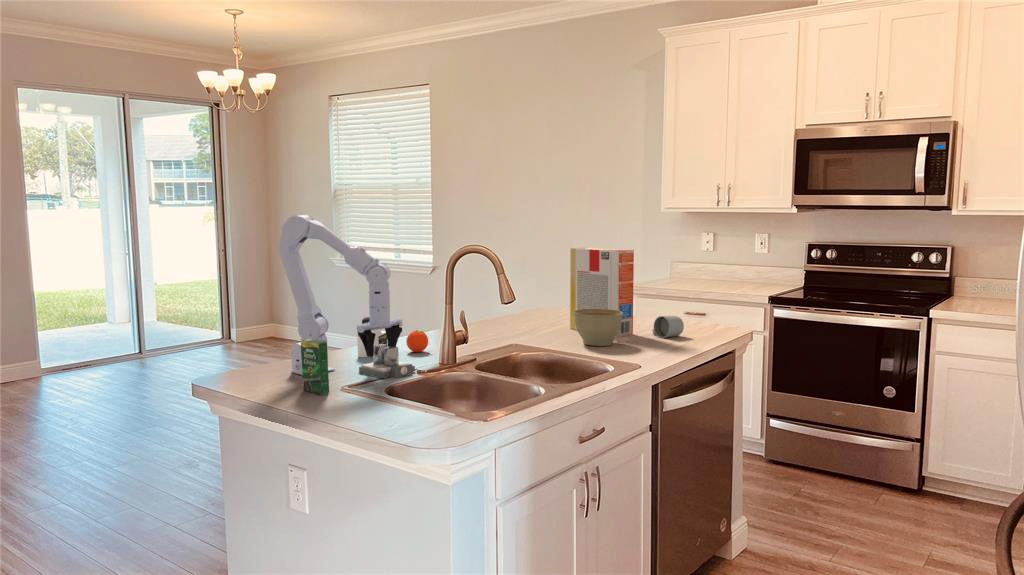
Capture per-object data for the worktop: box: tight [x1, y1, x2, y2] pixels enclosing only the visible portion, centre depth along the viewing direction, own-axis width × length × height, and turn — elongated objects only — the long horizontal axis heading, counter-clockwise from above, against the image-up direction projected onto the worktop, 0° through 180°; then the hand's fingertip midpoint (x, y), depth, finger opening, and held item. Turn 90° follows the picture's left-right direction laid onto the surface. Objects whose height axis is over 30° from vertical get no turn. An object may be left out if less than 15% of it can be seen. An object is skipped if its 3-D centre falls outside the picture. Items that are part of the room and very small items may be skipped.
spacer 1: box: [372, 344, 388, 365], centre depth 210 cm, size 4×4×5 cm
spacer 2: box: [384, 346, 400, 367], centre depth 207 cm, size 4×4×5 cm
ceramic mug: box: [651, 315, 685, 339], centre depth 260 cm, size 11×8×8 cm
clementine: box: [406, 329, 429, 353], centre depth 236 cm, size 8×7×7 cm
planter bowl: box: [574, 309, 623, 347], centre depth 247 cm, size 16×16×11 cm
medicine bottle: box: [356, 316, 388, 359], centre depth 231 cm, size 7×7×12 cm
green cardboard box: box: [299, 339, 330, 396], centre depth 187 cm, size 8×3×13 cm, turn 49°
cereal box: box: [569, 247, 635, 338], centre depth 269 cm, size 23×8×30 cm, turn 42°
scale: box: [358, 360, 416, 379], centre depth 208 cm, size 11×13×3 cm
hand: (380, 354), depth 210 cm, fingers open, 7 cm apart
